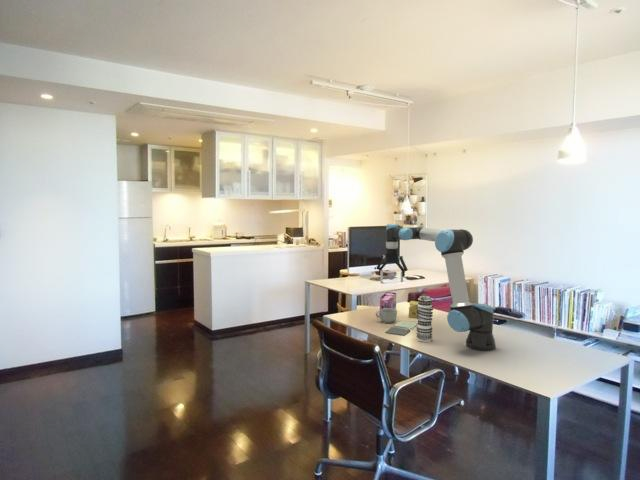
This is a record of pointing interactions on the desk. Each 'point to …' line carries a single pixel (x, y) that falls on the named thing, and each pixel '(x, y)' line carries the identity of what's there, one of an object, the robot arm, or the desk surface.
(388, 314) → the teacup
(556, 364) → the desk surface
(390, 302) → the gum box
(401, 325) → the sage mat
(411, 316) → the cheese
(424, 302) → the decorative candle
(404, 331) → the charcoal mat
